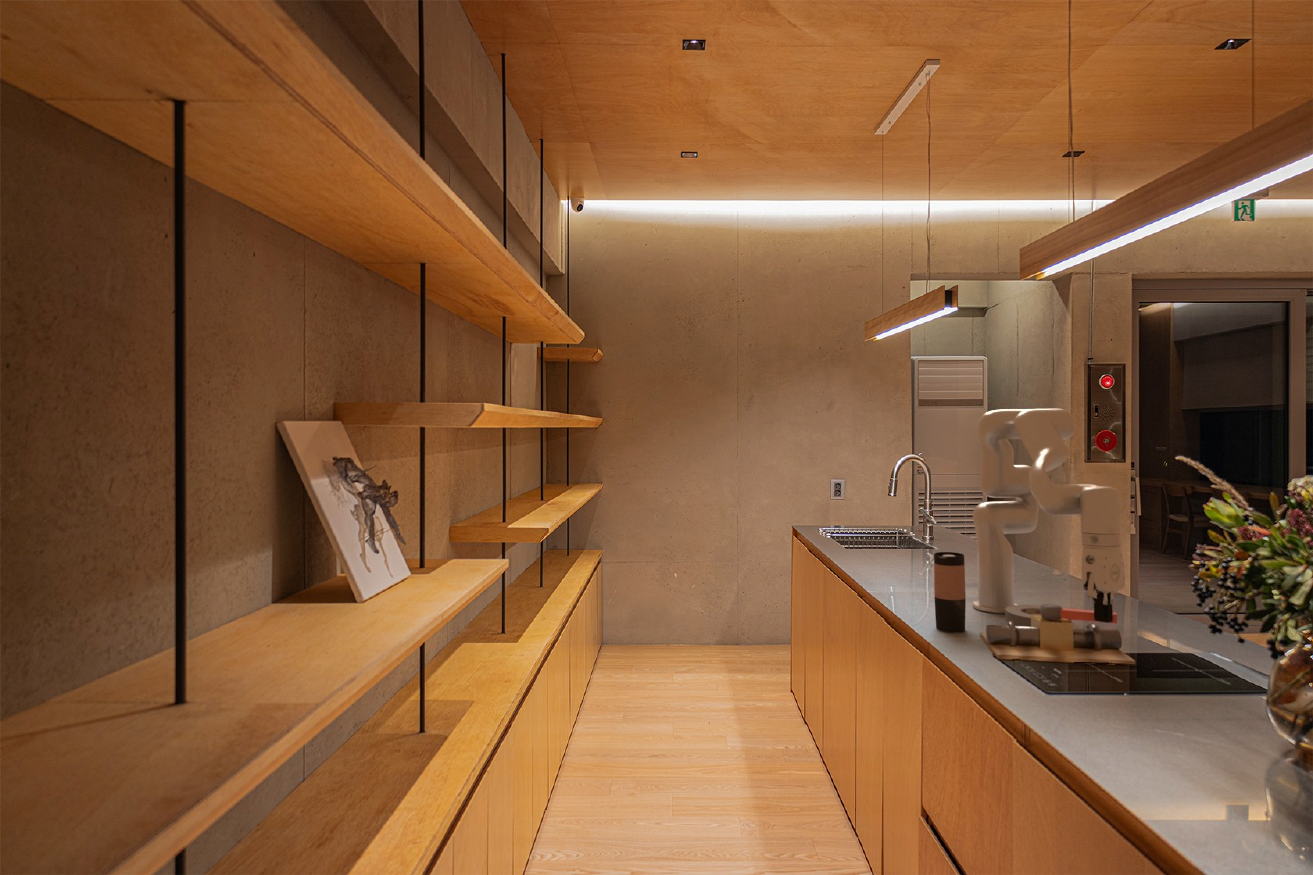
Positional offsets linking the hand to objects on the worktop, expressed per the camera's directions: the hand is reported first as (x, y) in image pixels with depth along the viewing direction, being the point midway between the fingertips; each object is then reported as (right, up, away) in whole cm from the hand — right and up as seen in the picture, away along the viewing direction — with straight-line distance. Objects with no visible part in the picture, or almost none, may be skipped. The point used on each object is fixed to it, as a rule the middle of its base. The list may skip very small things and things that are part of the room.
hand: (1103, 620), depth 158 cm
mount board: (-8, -9, +7) cm, 14 cm away
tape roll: (-1, -9, +24) cm, 26 cm away
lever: (-3, -1, +5) cm, 6 cm away
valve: (-8, -9, +7) cm, 14 cm away
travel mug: (-24, -9, +27) cm, 37 cm away
